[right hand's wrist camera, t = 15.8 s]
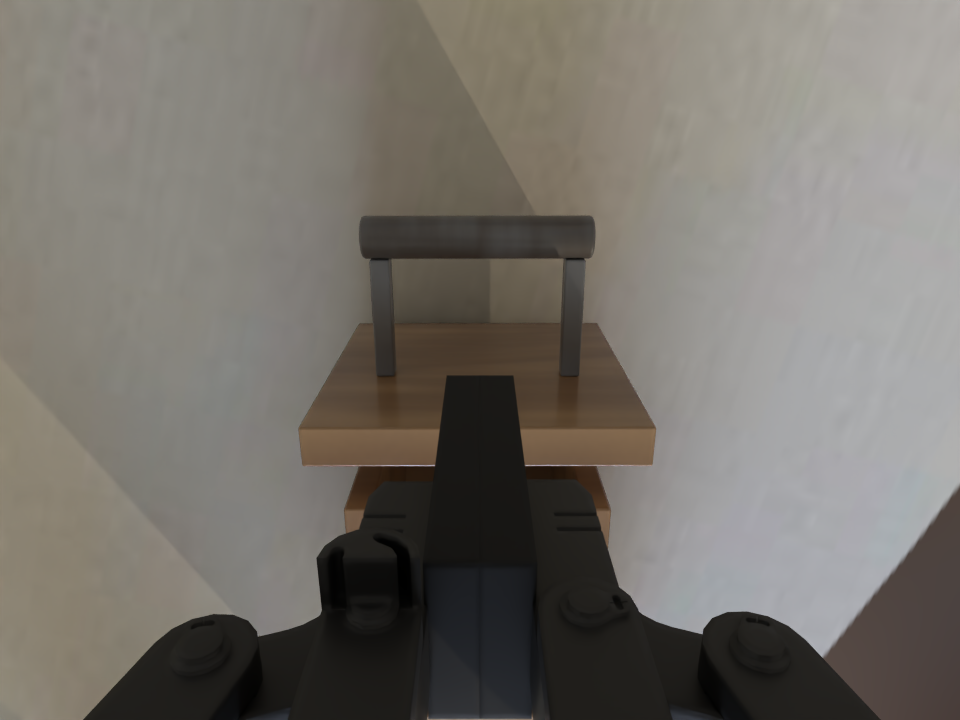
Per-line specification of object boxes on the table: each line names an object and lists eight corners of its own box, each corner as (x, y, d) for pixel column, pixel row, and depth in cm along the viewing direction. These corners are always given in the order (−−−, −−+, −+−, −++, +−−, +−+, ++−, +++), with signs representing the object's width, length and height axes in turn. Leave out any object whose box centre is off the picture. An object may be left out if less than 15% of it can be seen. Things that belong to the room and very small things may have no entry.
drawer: (349, 194, 25) (276, 239, 16) (606, 194, 25) (676, 239, 16) (381, 647, 32) (343, 848, 23) (576, 646, 32) (613, 848, 23)
